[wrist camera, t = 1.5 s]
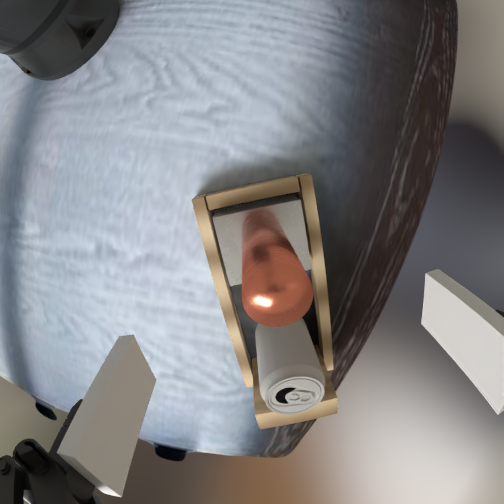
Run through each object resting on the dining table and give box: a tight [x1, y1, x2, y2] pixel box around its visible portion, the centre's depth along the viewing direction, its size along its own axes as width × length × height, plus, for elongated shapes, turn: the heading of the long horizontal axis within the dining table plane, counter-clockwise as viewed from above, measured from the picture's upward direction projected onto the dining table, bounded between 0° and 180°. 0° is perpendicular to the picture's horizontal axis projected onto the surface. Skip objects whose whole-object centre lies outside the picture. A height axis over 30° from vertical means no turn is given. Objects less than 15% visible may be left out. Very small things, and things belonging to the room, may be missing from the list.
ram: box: [213, 194, 313, 327], centre depth 23 cm, size 7×8×17 cm
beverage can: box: [255, 318, 325, 415], centre depth 29 cm, size 6×6×12 cm
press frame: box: [192, 173, 337, 429], centre depth 28 cm, size 25×12×10 cm, turn 12°
